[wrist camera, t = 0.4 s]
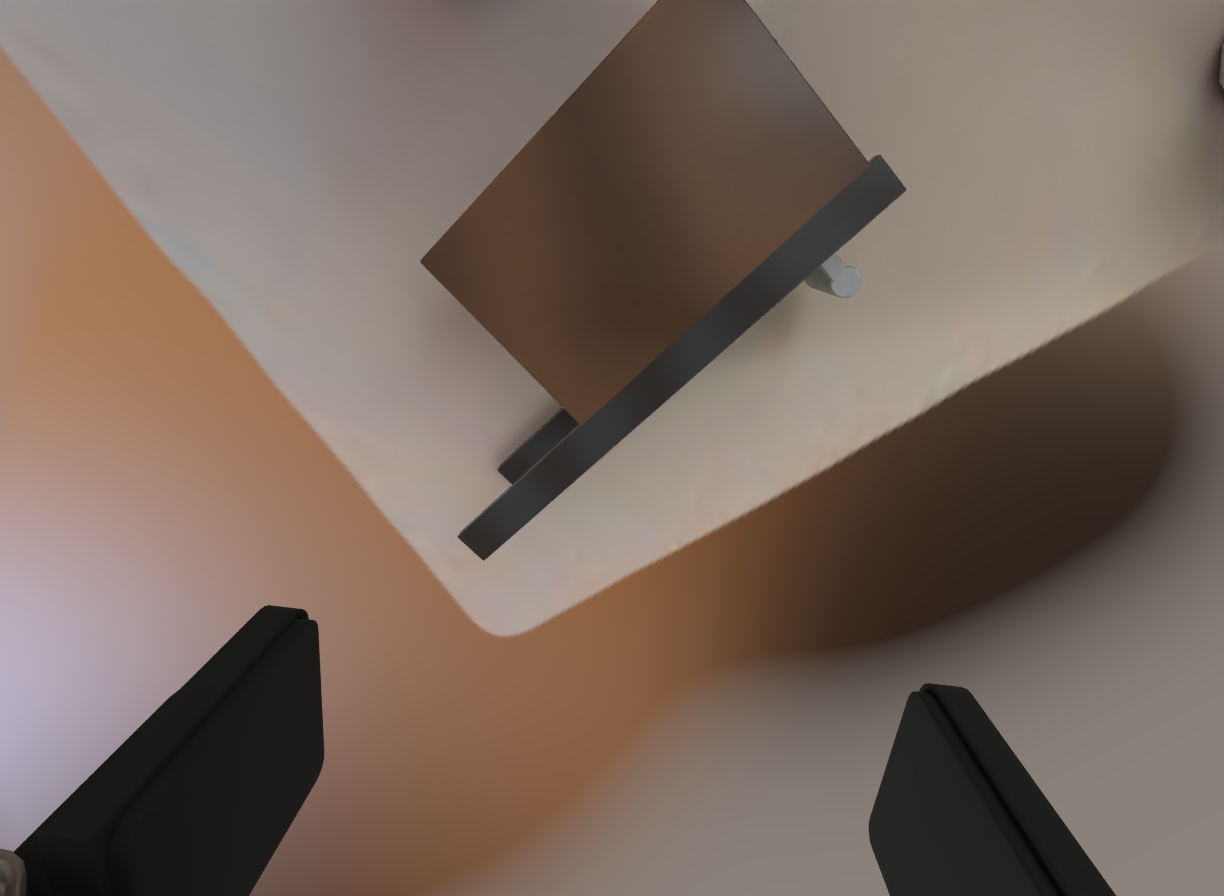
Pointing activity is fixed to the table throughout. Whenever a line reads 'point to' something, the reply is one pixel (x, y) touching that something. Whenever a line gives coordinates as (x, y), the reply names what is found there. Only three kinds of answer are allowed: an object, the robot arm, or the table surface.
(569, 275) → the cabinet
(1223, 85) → the disposable coffee cup
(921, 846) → the robot arm
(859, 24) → the table surface
